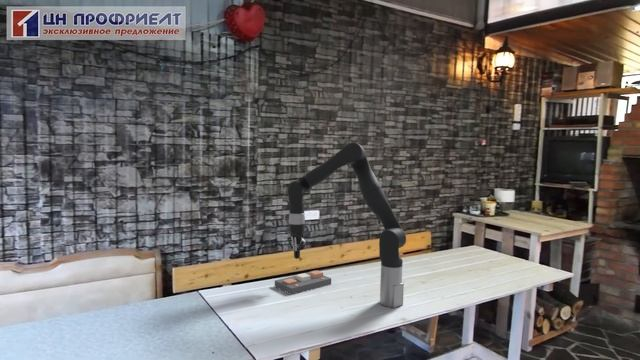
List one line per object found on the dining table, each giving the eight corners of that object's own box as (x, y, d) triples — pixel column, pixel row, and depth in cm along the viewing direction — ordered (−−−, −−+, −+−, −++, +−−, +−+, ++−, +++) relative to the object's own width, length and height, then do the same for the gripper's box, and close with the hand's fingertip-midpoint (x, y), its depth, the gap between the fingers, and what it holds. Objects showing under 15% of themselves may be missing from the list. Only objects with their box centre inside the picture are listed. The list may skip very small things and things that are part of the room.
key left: (297, 287, 196) (297, 280, 195) (288, 289, 193) (288, 283, 192) (291, 284, 200) (291, 278, 199) (282, 286, 196) (282, 280, 196)
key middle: (310, 281, 201) (310, 275, 200) (302, 283, 198) (302, 277, 197) (304, 279, 205) (304, 273, 204) (296, 281, 201) (296, 275, 201)
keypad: (331, 284, 203) (331, 277, 203) (291, 294, 188) (291, 288, 188) (313, 277, 214) (313, 271, 214) (274, 286, 199) (274, 280, 199)
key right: (323, 278, 206) (323, 272, 205) (315, 280, 203) (315, 274, 202) (316, 276, 210) (316, 270, 209) (309, 277, 206) (309, 272, 206)
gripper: (311, 223, 193) (311, 259, 194) (294, 219, 203) (294, 254, 204) (299, 225, 188) (299, 262, 189) (282, 221, 198) (282, 256, 199)
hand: (296, 258), depth 196 cm, fingers closed
